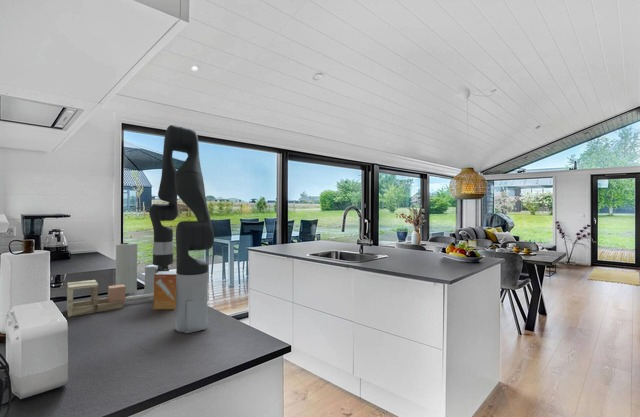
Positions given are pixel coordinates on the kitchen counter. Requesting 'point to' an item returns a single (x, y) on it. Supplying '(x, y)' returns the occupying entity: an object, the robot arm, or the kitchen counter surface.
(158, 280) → the small box
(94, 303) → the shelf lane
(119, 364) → the kitchen counter surface
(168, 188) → the robot arm
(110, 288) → the tethered block
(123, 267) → the tall grey box
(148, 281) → the skincare box
